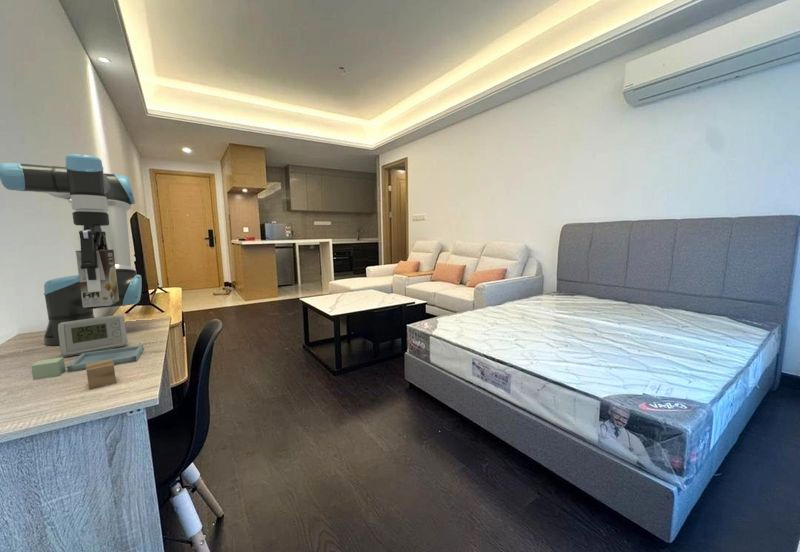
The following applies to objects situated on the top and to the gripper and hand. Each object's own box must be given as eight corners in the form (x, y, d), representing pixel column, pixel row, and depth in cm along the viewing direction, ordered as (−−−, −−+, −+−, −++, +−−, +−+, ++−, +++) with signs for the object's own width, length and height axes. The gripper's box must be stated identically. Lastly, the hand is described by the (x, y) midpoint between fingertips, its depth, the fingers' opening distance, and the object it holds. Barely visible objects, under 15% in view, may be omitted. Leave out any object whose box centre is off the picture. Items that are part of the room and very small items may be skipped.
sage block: (40, 374, 89) (38, 360, 88) (65, 370, 91) (63, 357, 91) (33, 380, 85) (31, 365, 85) (59, 376, 88) (57, 361, 87)
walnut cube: (88, 383, 83) (86, 364, 82) (114, 377, 86) (112, 359, 86) (89, 389, 79) (86, 370, 79) (116, 383, 83) (113, 364, 82)
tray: (82, 358, 100) (82, 353, 100) (143, 349, 108) (143, 344, 107) (67, 372, 90) (66, 366, 90) (136, 361, 97) (135, 356, 97)
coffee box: (111, 305, 94) (105, 250, 92) (82, 308, 91) (74, 250, 89) (120, 300, 102) (113, 249, 100) (92, 302, 99) (86, 249, 97)
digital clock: (57, 359, 100) (52, 325, 99) (67, 351, 107) (62, 319, 106) (126, 349, 108) (122, 318, 107) (130, 342, 116) (127, 312, 115)
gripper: (86, 213, 101) (95, 285, 104) (56, 208, 82) (68, 296, 85) (117, 214, 105) (125, 283, 107) (95, 209, 86) (106, 293, 88)
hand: (100, 289), depth 96 cm, fingers closed on coffee box, 9 cm apart
